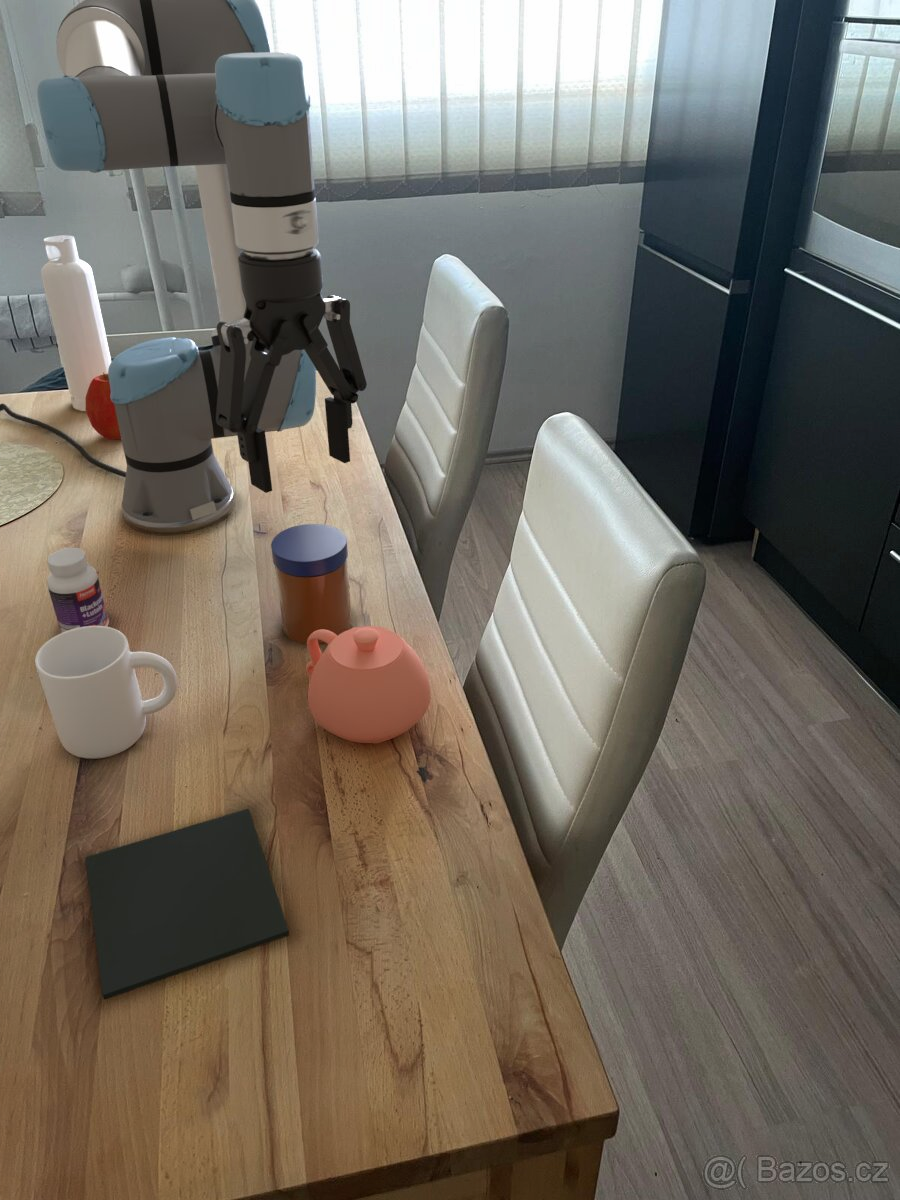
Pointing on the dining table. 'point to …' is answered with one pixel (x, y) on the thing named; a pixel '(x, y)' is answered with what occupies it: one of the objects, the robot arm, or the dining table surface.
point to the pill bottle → (75, 590)
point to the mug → (98, 690)
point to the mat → (181, 902)
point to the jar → (314, 603)
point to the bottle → (75, 316)
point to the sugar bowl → (366, 684)
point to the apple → (102, 408)
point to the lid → (309, 550)
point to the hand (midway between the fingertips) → (301, 472)
